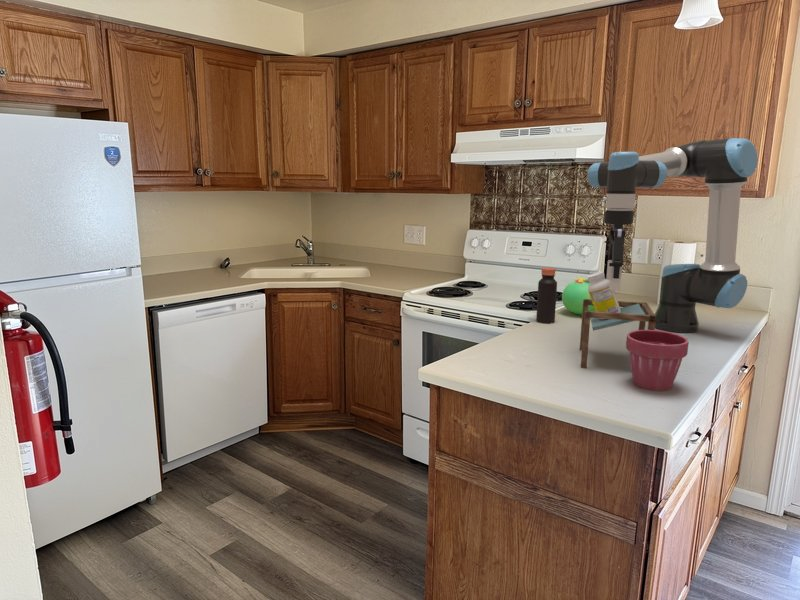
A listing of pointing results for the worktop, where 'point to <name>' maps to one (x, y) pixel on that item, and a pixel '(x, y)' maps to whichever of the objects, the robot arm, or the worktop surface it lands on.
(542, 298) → the vinegar
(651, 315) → the frame
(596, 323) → the trapdoor
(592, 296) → the supplement bottle
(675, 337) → the plant pot
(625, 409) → the worktop surface
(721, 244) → the robot arm
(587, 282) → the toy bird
